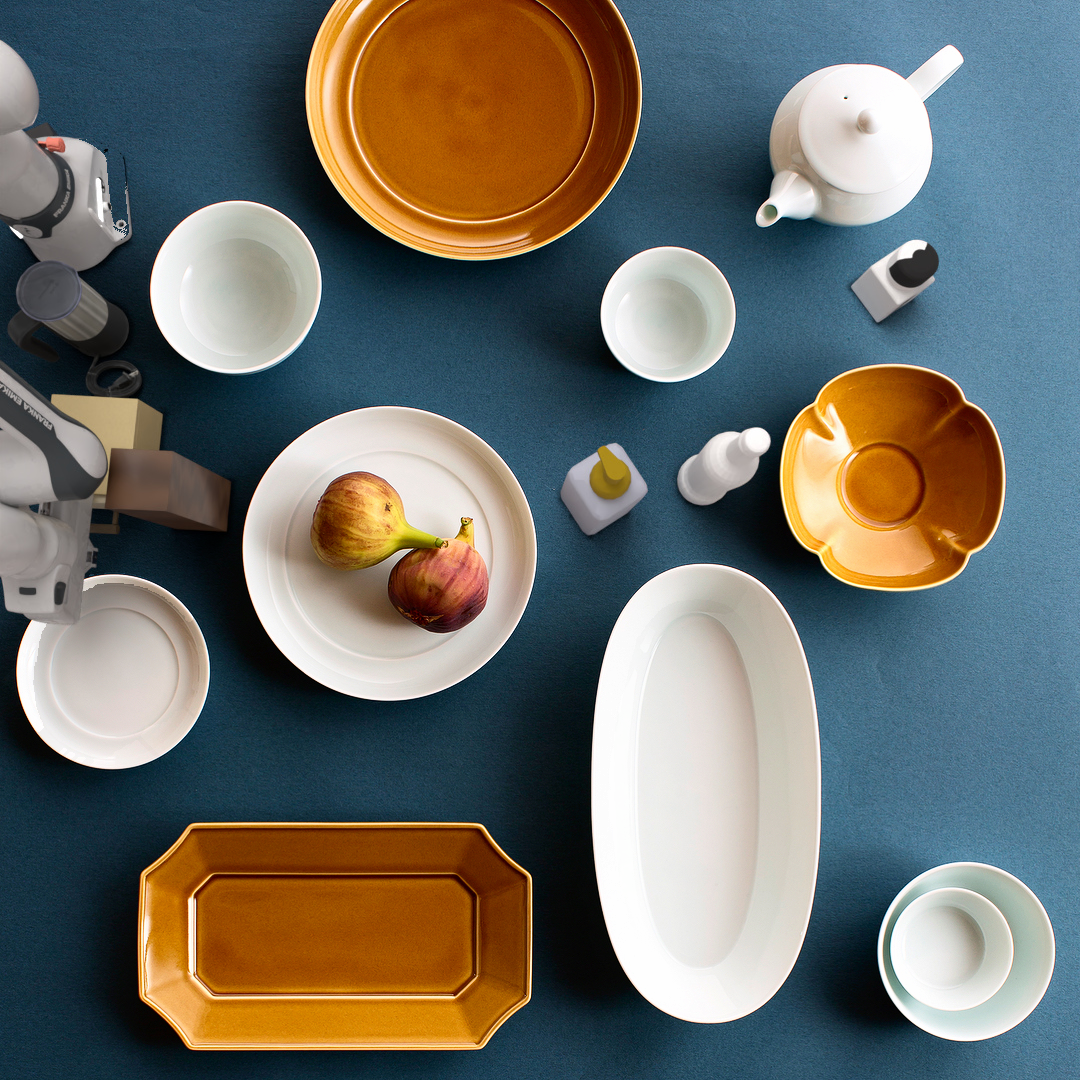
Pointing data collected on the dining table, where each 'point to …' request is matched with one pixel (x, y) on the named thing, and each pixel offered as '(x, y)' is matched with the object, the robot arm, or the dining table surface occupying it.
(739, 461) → the bottle
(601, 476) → the soap bottle
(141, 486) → the stand
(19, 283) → the milk frother
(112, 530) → the drawer
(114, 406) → the cabinet
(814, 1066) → the dining table surface
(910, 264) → the container
